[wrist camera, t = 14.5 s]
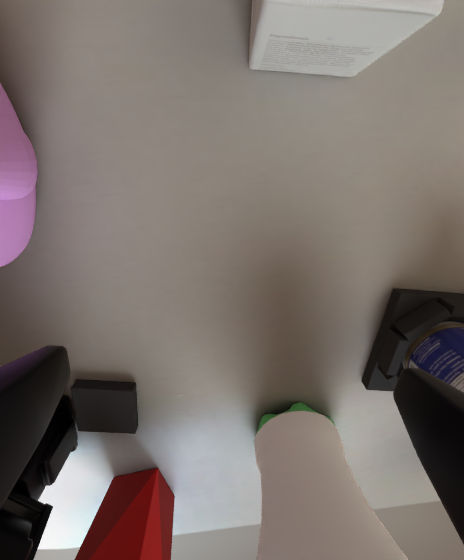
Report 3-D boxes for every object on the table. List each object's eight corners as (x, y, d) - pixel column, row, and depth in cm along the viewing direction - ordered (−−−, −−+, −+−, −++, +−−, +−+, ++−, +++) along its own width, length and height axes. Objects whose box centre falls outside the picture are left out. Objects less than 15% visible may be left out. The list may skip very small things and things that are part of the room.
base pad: (83, 421, 26) (78, 431, 25) (76, 379, 24) (70, 387, 23) (138, 424, 26) (135, 434, 25) (136, 382, 24) (132, 391, 23)
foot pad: (361, 381, 25) (375, 404, 22) (393, 288, 21) (413, 303, 19) (459, 387, 25) (482, 409, 23) (506, 296, 22) (539, 312, 19)
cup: (214, 410, 26) (201, 671, 12) (330, 366, 24) (457, 613, 11) (263, 481, 30) (292, 734, 16) (366, 447, 28) (490, 699, 15)
